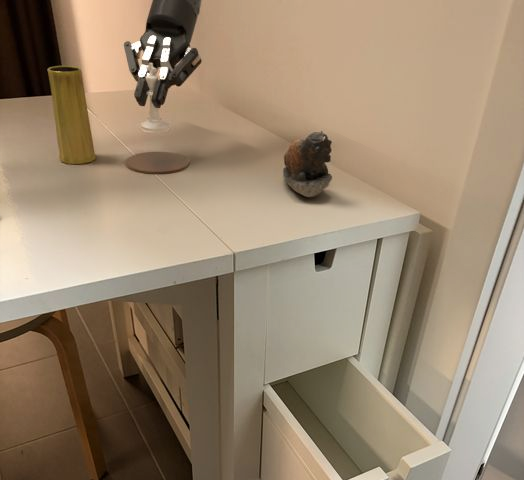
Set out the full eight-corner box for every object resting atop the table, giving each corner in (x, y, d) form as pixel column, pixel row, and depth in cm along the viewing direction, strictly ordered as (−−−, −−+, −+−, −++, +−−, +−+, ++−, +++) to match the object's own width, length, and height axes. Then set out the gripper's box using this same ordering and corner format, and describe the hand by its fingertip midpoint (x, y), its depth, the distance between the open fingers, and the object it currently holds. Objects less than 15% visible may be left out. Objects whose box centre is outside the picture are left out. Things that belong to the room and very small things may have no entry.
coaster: (147, 178, 90) (147, 176, 90) (113, 160, 97) (113, 158, 96) (202, 166, 96) (202, 163, 96) (166, 150, 103) (166, 147, 102)
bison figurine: (274, 178, 93) (277, 115, 87) (313, 176, 94) (319, 114, 88) (294, 205, 84) (300, 136, 78) (338, 203, 85) (347, 135, 79)
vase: (88, 151, 100) (75, 64, 91) (101, 161, 96) (90, 70, 88) (54, 156, 97) (38, 66, 88) (67, 166, 93) (52, 73, 85)
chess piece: (158, 134, 90) (153, 67, 85) (134, 129, 92) (128, 63, 86) (176, 128, 94) (172, 63, 88) (152, 123, 96) (148, 59, 90)
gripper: (128, -13, 89) (98, 85, 87) (208, -7, 86) (179, 94, 84) (145, 22, 96) (119, 113, 94) (220, 29, 93) (194, 122, 91)
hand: (147, 103), depth 89 cm, fingers closed on chess piece
